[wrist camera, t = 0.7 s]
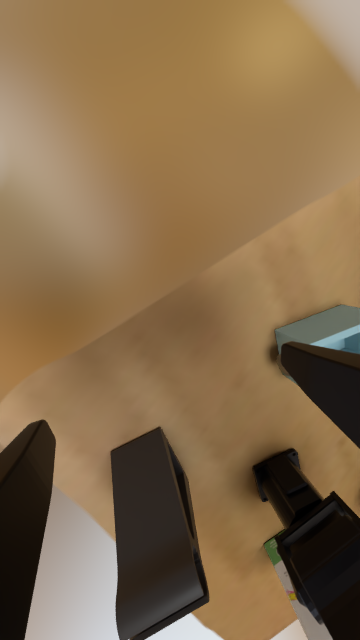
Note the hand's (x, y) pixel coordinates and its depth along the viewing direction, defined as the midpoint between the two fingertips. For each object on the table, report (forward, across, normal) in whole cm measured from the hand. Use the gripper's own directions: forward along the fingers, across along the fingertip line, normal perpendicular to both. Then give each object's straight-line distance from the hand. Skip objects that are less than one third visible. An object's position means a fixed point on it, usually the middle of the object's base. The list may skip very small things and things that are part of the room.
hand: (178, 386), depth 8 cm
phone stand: (+12, +3, +20) cm, 24 cm away
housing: (+12, -19, +10) cm, 24 cm away
